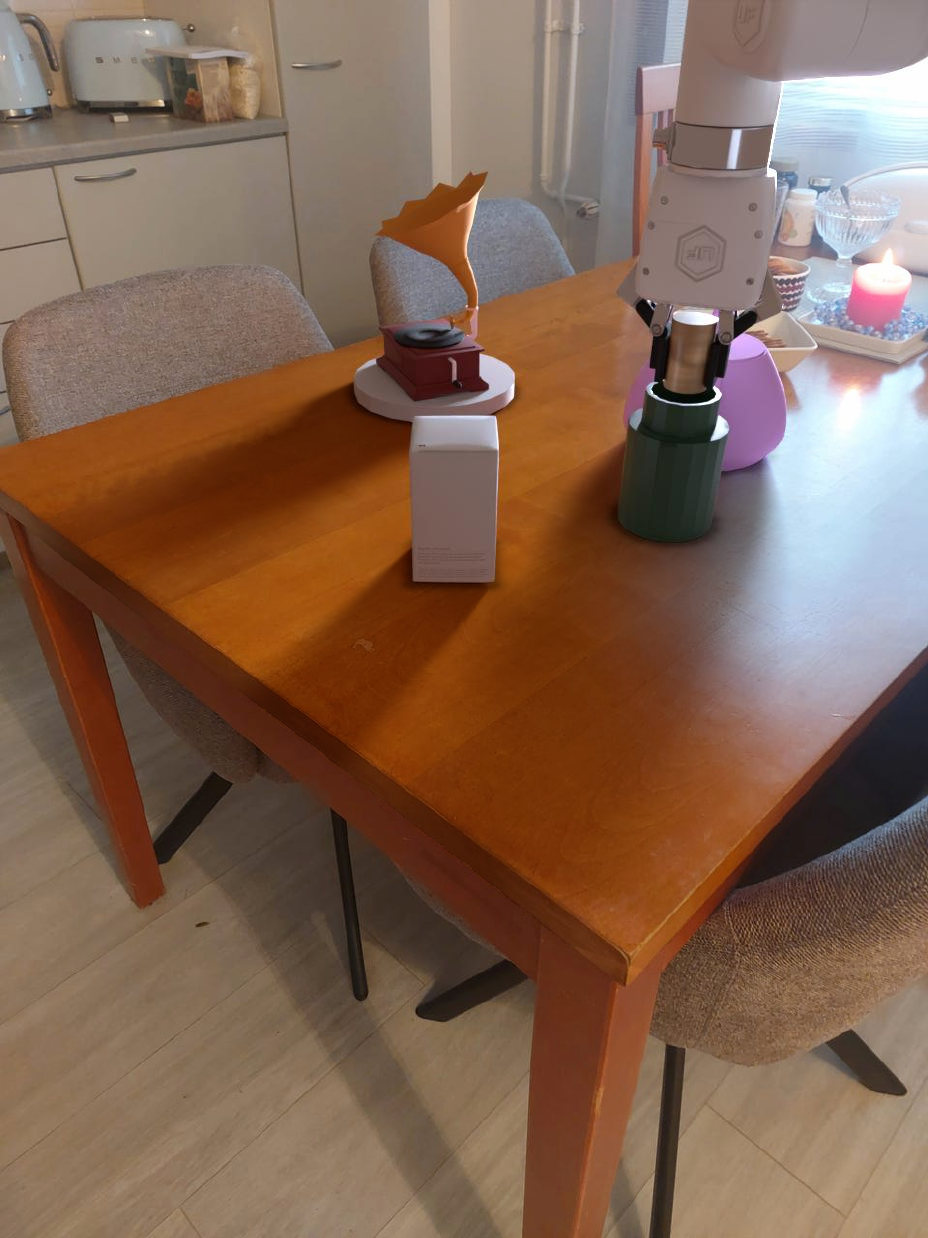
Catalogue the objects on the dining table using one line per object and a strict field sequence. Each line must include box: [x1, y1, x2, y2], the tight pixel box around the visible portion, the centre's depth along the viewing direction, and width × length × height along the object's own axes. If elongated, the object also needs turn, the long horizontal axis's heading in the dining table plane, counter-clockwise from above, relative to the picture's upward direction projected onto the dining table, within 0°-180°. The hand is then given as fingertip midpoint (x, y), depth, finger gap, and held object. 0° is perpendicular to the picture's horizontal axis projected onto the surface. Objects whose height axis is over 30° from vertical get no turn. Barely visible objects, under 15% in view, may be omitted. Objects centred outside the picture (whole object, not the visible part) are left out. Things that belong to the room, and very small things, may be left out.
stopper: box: [663, 311, 718, 394], centre depth 77 cm, size 4×4×6 cm
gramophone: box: [352, 170, 516, 423], centre depth 107 cm, size 20×20×25 cm
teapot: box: [622, 309, 788, 472], centre depth 98 cm, size 25×18×14 cm
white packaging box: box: [408, 415, 500, 584], centre depth 77 cm, size 7×7×13 cm
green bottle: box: [617, 380, 730, 543], centre depth 83 cm, size 9×9×13 cm
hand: (686, 378), depth 79 cm, fingers closed on stopper, 3 cm apart
